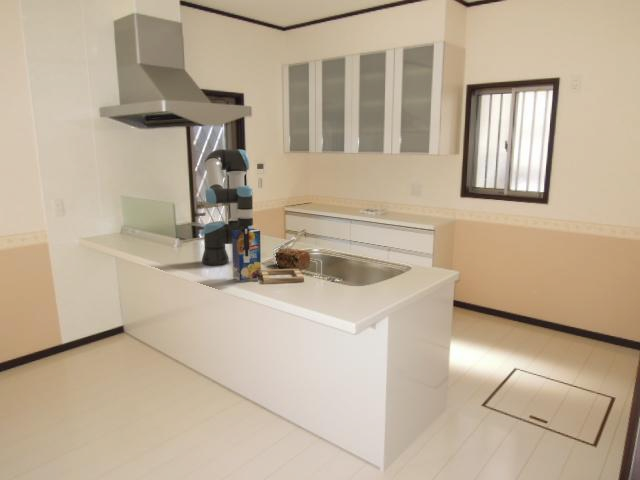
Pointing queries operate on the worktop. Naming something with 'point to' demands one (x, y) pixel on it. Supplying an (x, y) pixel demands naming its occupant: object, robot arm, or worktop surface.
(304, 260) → the bread
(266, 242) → the worktop surface
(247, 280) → the plate
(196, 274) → the worktop surface
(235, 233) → the juice carton
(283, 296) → the worktop surface
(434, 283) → the worktop surface
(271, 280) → the board
